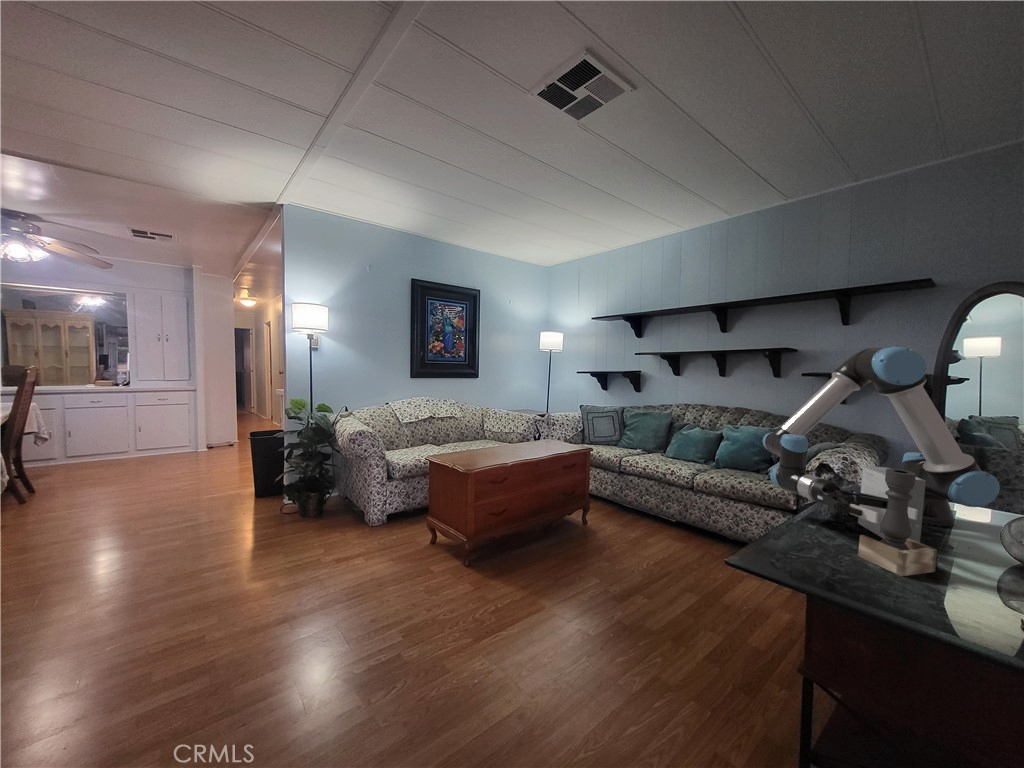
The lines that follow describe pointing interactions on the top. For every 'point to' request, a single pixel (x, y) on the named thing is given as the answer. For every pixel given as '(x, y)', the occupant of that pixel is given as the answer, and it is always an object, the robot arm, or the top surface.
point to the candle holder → (897, 508)
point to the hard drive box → (877, 486)
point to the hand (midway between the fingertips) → (897, 516)
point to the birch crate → (899, 556)
